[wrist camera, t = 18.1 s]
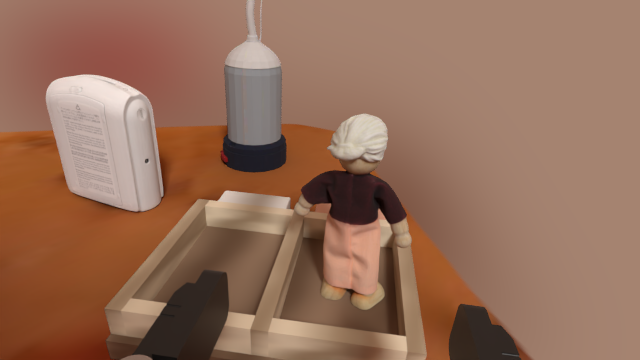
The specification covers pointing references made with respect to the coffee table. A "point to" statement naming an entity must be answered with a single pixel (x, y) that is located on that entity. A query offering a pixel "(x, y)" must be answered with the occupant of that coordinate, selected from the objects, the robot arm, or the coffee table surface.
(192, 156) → the coffee table surface
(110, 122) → the photo printer
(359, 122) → the grandmother figurine
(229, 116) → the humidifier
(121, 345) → the wooden divided tray
